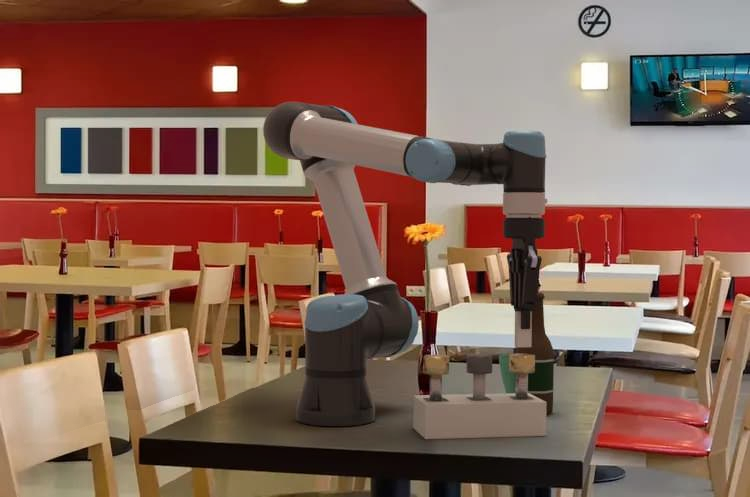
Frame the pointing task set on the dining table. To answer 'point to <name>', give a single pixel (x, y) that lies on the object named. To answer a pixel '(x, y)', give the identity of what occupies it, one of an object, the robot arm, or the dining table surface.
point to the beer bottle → (540, 358)
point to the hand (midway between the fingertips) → (523, 346)
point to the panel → (479, 416)
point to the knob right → (522, 372)
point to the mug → (507, 374)
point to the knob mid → (479, 373)
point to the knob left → (436, 373)
